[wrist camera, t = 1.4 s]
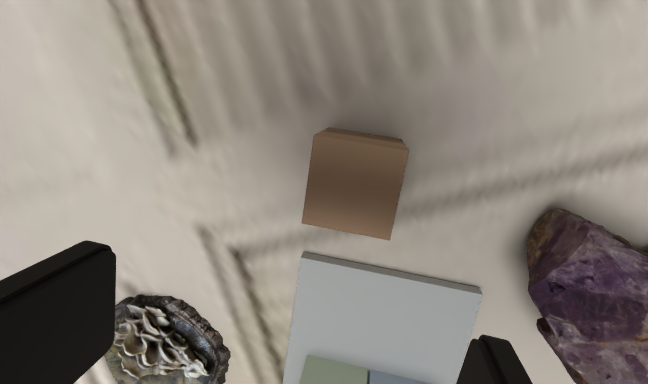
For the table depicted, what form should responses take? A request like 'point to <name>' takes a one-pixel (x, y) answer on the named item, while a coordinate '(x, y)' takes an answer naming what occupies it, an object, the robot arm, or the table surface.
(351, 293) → the assembly board
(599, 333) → the rock
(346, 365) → the sage block
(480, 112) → the table surface
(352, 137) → the walnut block
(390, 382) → the blue block
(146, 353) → the grey oval shell
